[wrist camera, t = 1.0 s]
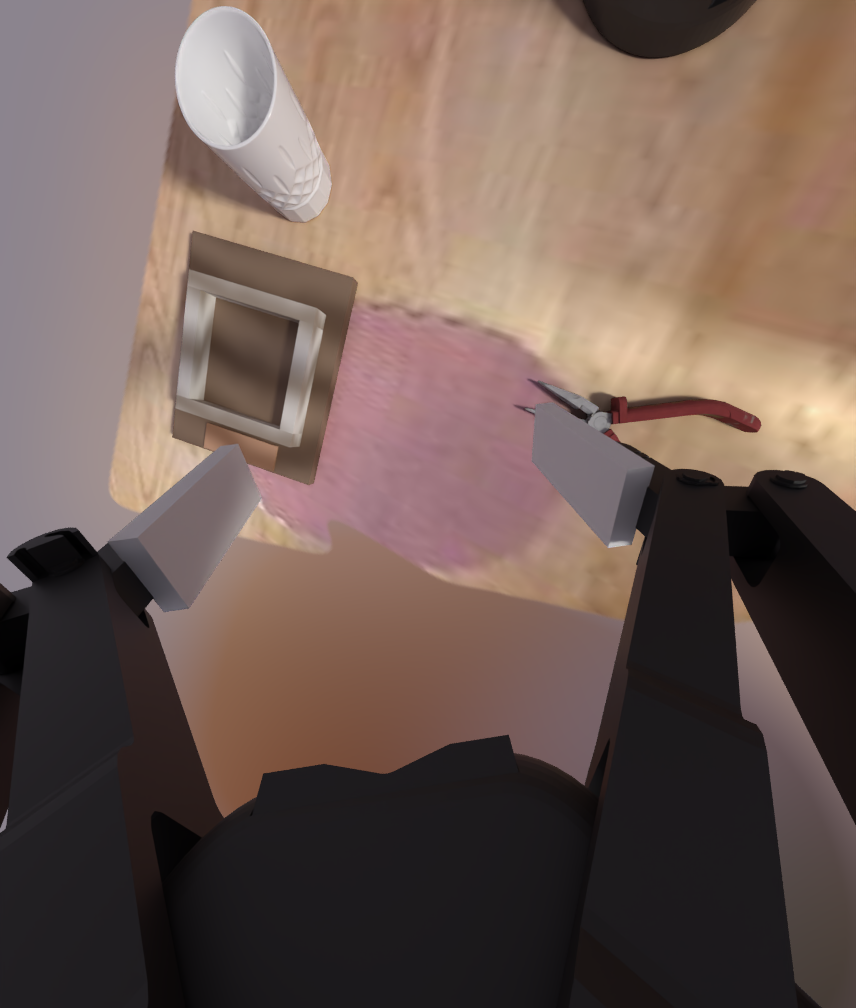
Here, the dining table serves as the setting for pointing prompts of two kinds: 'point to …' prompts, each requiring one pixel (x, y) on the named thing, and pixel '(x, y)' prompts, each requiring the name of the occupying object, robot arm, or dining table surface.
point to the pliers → (654, 411)
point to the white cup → (250, 112)
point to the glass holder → (260, 354)
